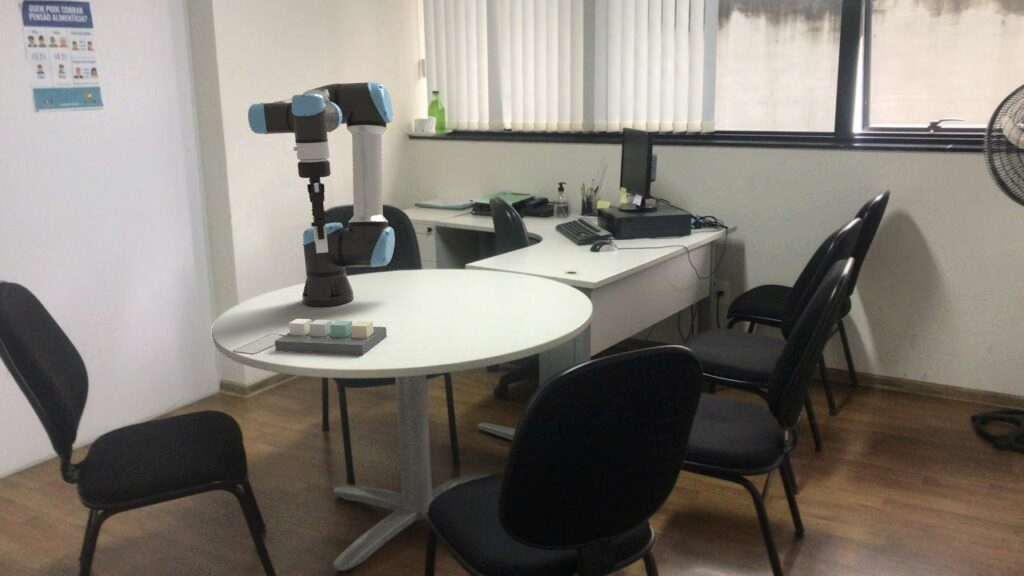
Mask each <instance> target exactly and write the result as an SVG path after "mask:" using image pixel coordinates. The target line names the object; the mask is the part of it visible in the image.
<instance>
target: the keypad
mask: <svg viewBox="0 0 1024 576" xmlns="http://www.w3.org/2000/svg"><path fill="white" fill-rule="evenodd" d="M373 331H374V334H373V335H371V336H370V337H369V338H352V334H350V335H349V336H348V337H331V333H330V334H328V335H327V336H325V337H323V336H310V333H308V334H306V335H305V336H301V335H290V331H289V332H288V333H286V334H283V335H284V336H283V337H281V338H279V339H277V340H276V341H275V346H274V348H275V352H291V353H292V352H295V353H312V354H314V353H315V354H334V355H352V356H353V355H356V356H364V355H365V354H366V353H367V352H369V351H370V350H371V349H374V347H375V346H377V345H378V344H379V343H380V342H382V341H383V340H384V339H386V338H387V337H388V335H387V333H388V332H387V327H386V326H373Z"/></svg>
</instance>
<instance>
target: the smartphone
mask: <svg viewBox="0 0 1024 576" xmlns="http://www.w3.org/2000/svg"><path fill="white" fill-rule="evenodd" d="M284 335H285V334H279V333H269V334H267V335H265V336H263V337H260V338H258V339H255V340H253V341H251V342H248V343H246V344H244V345H242V346H240V347H237V348H235V349H233V350H232V353H236V354H237V353H238V354H244V353H245V354H246V355H257V354H260V353H262V352H264V351H266V350H268V349H271V348H273V347H275V341H276V340H277V339H279V338H281V337H283V336H284Z"/></svg>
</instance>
